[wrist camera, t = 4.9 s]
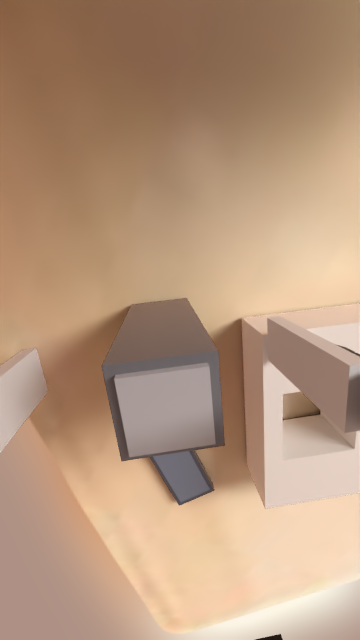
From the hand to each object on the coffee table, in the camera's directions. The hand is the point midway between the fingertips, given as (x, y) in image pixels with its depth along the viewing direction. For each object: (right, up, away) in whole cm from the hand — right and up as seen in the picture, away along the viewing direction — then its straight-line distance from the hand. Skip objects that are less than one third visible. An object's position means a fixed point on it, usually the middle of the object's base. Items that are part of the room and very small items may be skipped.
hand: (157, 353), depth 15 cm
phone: (+1, -11, +8) cm, 14 cm away
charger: (0, +1, +4) cm, 4 cm away
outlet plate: (+13, -4, +6) cm, 15 cm away
